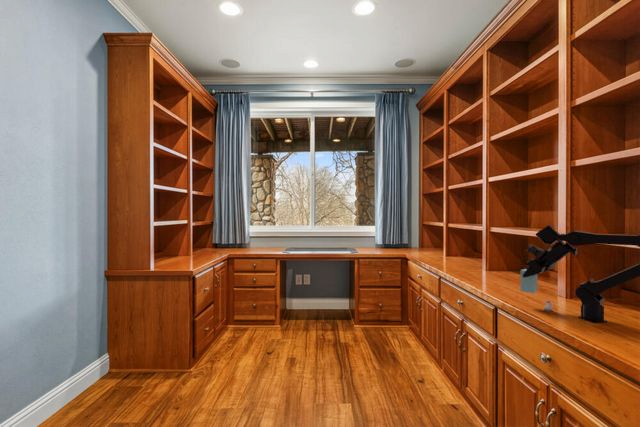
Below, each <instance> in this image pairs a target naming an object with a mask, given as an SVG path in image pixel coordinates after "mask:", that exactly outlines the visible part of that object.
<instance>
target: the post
mask: <svg viewBox="0 0 640 427" xmlns="http://www.w3.org/2000/svg"><path fill="white" fill-rule="evenodd" d="M543 311H545V312H546V313H547V312H549V313H552V312H553V303H552V302H551V301H549V300H546V301H545V302H544V308H543Z"/></svg>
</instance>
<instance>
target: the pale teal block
mask: <svg viewBox="0 0 640 427" xmlns="http://www.w3.org/2000/svg"><path fill="white" fill-rule="evenodd" d="M527 269H528V268H524V269H520V292H523V293H530V294H535V293H537V292H538V275H539V274H536V275H533V276H529V277H525V278H524V277H523V274H524V273H525V272H526V270H527Z"/></svg>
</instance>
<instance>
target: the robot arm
mask: <svg viewBox="0 0 640 427" xmlns="http://www.w3.org/2000/svg"><path fill="white" fill-rule="evenodd" d="M535 236H536V237H537V238H538V239H539V240H540V241H541V242H542V243H543V244H544V245H546V246H547V245H549V246H551V247H549V248H548V249H542V248H541V247H538V246H536V245H534V244H529V245H528V246H527V247H526V250H525V252H526V253H528V254H531V255H533V256H534V257H535V258H530V259H529V260H527V261H526V264H527V265H528V267H527V268H526V269H527V270H526V272H525V273H524V274H523V277H524V278H525V277H529V276H533V275H536V274H538V275H540V274H542V273H544V272H547V271H549V270H551V269H554V268H555V266H556V264H557V262H560V261H561V260H562V259H563V258H564V257H566V256H567V255H570V253H571V255H573V256H575V255H578V247H577V246H587V245H598V244H599V245H614V246H615V245H617V246H635V247H636V246H637V247H638V248H640V234H613V233H612V234H608V233H607V234H606V233H605V234H603V233H594V232H590V231H585V230H584V231H581V230H574V231H573V230H572V231H569V232H568V233H559V232H558V231H557V230H556V229H555V228H554V227H553V226H552V225H551V224H548V225H547V226H545V227H544V228H542V229H539V231H537V232H536V233H535ZM573 246H574V247H573ZM575 246H576V247H575ZM639 277H640V263H638V264H635V265H633V266H631V267H628V268H625V269H623V270H621V271H619V272H617V273H614V274H612V275H610V276H608V277H605V278H603V279H600V280H596V281H595V279H594V278H589V280H587V281H583V282H581V283H579V284H578V287H576V289H575V292H574V294H575V295H576V297H577V298H578V299H579V300H580V302H581V305H580V316H577V318H579V319H581V320H584V321H586V322H589V323H593V324H599V323H608V320H606V319H605V306H604V305H602V304H603V303H604V302H605V298H604V297H603V296H602V295H601V294H602V293H603V292H605V291H607V290H609V289H612V288H615V287H617V286H619V285H621V284H624V283H626V282H630V281H631V280H633V279H634V280H635V279H636V278H639Z"/></svg>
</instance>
